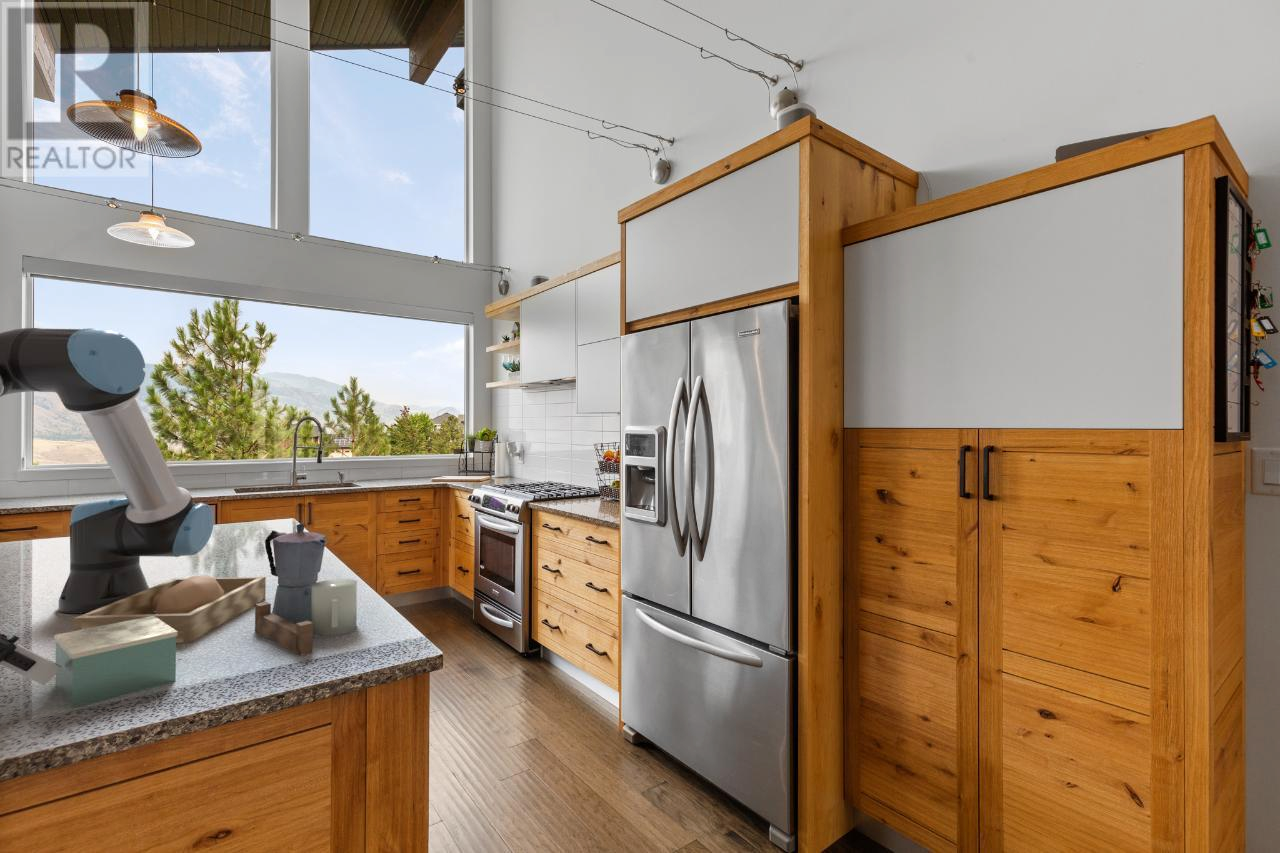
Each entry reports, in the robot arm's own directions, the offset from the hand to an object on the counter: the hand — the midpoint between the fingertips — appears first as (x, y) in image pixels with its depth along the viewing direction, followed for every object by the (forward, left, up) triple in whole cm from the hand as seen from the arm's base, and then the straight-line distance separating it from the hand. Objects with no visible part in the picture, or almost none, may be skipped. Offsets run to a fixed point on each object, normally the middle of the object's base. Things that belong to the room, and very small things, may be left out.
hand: (52, 675), depth 89 cm
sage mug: (-27, +29, -4) cm, 40 cm away
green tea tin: (-5, +5, -4) cm, 8 cm away
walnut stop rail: (-22, +22, -4) cm, 31 cm away
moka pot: (-34, +19, -4) cm, 39 cm away
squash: (-37, -4, -3) cm, 38 cm away
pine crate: (-37, -4, -4) cm, 38 cm away
